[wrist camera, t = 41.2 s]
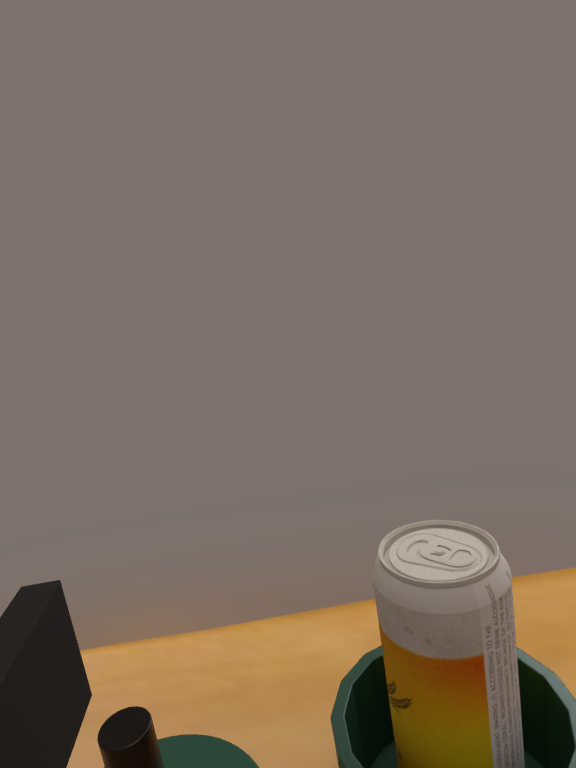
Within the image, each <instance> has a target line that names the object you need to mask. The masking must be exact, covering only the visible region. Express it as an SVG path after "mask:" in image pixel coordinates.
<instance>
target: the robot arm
mask: <svg viewBox="0 0 576 768" xmlns="http://www.w3.org/2000/svg"><path fill="white" fill-rule="evenodd" d="M91 696H92V694H91V690H90V686H89V683H88V679H87V675H86V672H85V668H84V665H83V661H82V657H81V654H80V650H79V647H78V643H77V640H76V636H75V632H74V629H73V625H72V621H71V618H70V615H69V611H68V607H67V604H66V600H65V596H64V593H63V589H62V585H61V582H60V580H57V581H52V582H46V583H40V584H36V585H29V586H24V587H21V588H20V590H19V591H18V593H17V594H16V596H15V597H14V599H13V600H12V601H11V603H10V604H9V606H8V607H7V609H6V610H5V612H4V613H3V615H2V616H1V617H0V768H66V767H67V764H68V761H69V758H70V755H71V753H72V750H73V747H74V744H75V741H76V738H77V736H78V733H79V730H80V727H81V724H82V721H83V719H84V716H85V713H86V710H87V707H88V704H89V702H90V699H91Z"/></svg>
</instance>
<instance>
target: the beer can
mask: <svg viewBox="0 0 576 768" xmlns="http://www.w3.org/2000/svg"><path fill="white" fill-rule="evenodd" d="M372 576H373V583H374V591H375V598H376V606H377V613H378V621H379V628H380V635H381V643H382V650H383V658H384V665H385V672H386V680H387V687H388V695H389V702H390V710H391V717H392V724H393V732H394V739H395V747H396V754H397V761H398V768H525V761H524V747H523V733H522V719H521V705H520V691H519V677H518V663H517V649H516V635H515V621H514V607H513V593H512V579H511V571H510V568H509V565H508V564H507V562H506V560H505V559H504V557H503V556H502V554H501V553H500V551H499V547H498V544H497V542H496V541H495V539H494V538H493V537H492V536H491V535H490V534H489V533H487V532H486V531H484V530H482V529H480V528H478V527H476V526H473V525H470V524H467V523H462V522H458V521H450V520H428V521H420V522H415V523H411V524H407V525H405V526H402V527H400V528H397V529H395V530H394V531H392V532H390V533H389V534H388V535H387V536H386V537H385V538H384V539H383V540H382V541H381V543H380V545H379V549H378V557H377V559H376V562H375V564H374V567H373V572H372Z"/></svg>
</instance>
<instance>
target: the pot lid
mask: <svg viewBox="0 0 576 768" xmlns="http://www.w3.org/2000/svg"><path fill="white" fill-rule="evenodd" d="M98 744H99V748H100V751H101V755H102V758H103V762H104V765H105V767H104V768H259V767H258V765H257V764H256V763H255V762H254V761H253V760H252V758H251V757H250V756H249V755H248V754H246V753H245V752H244V751H243V750H242V749H240V748H239V747H237V746H235V745H234V744H232V743H230V742H228V741H225V740H222V739H220V738H216V737H212V736H206V735H196V734H195V735H178V736H171V737H167V738H163V739H159V740H157V737H156V733H155V729H154V726H153V722H152V718H151V715H150V713H149V711H147V710H146V709H145V708H142V707H137V706H136V707H128V708H125V709H122V710H120V711H118V712H116V713H115V714H113V715H112V716H111V717H109V718H108V719H107V720H106V721H105V722H104V724H103V725H102V727H101V728H100V731H99V734H98Z"/></svg>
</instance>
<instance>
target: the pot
mask: <svg viewBox="0 0 576 768" xmlns="http://www.w3.org/2000/svg"><path fill="white" fill-rule="evenodd" d="M516 649H517V663H518V677H519V691H520V705H521V719H522V733H523V747H524V761H525V768H576V700H575V698H574V697H573V696H572V694H571V693H570V692H569V690H568V689H567V688H566V686H565V685H564V684H563V683H562V681H561V680H560V679H559V677H558V676H557V675H556V674H555V673H554V672H553V671H551V670H550V669H548V668H547V667H545V666H544V665H542V664H541V663H540V662H538V661H537V660H535V659H534V658H532V657H531V656H529V655H528V654H526V653H525V652H523V651H522V650H521V649H519V648H517V647H516ZM331 723H332V729H333V735H334V741H335V747H336V753H337V760H338V766H339V768H398V761H397V754H396V747H395V739H394V732H393V724H392V717H391V710H390V702H389V695H388V687H387V680H386V672H385V665H384V658H383V650H382V645H381V646H379V647H378V648H376V649H374V650H372V651H370V652H368V653H366V654H365V655H363V657H362V658H361V659H360V660H359V661H358V662H357V663H356V665H355V666H354V667H353V668H352V669H351V670H350V672H349V673H348V674H347V675H346V676H345V677H344V678H343V680H342V681H341V683H340V687H339V690H338V694H337V697H336V700H335V704H334V707H333V711H332V714H331Z"/></svg>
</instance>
